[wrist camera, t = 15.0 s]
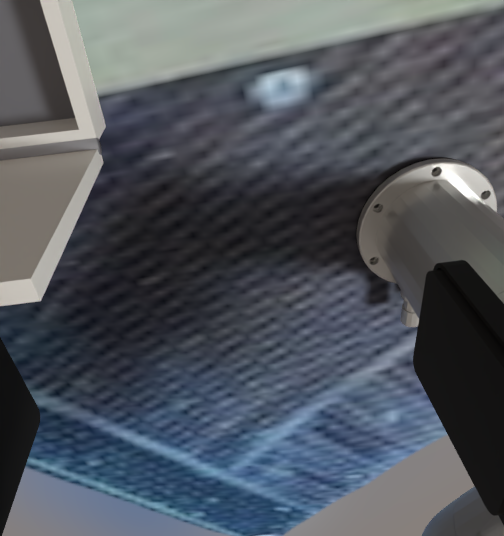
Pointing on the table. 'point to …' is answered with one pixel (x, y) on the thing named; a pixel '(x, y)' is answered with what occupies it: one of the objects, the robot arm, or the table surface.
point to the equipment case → (43, 141)
